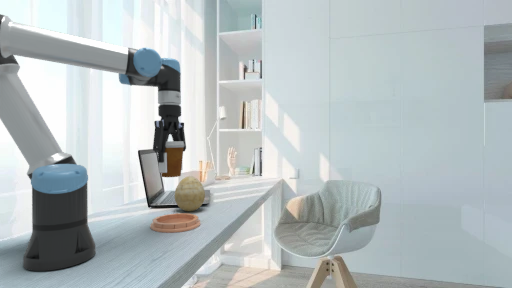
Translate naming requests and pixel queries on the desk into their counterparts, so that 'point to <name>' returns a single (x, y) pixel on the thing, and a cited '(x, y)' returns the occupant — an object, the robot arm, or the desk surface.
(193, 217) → the terracotta plant saucer
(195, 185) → the fossilized egg
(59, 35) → the robot arm
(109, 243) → the desk surface
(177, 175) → the disposable coffee cup
